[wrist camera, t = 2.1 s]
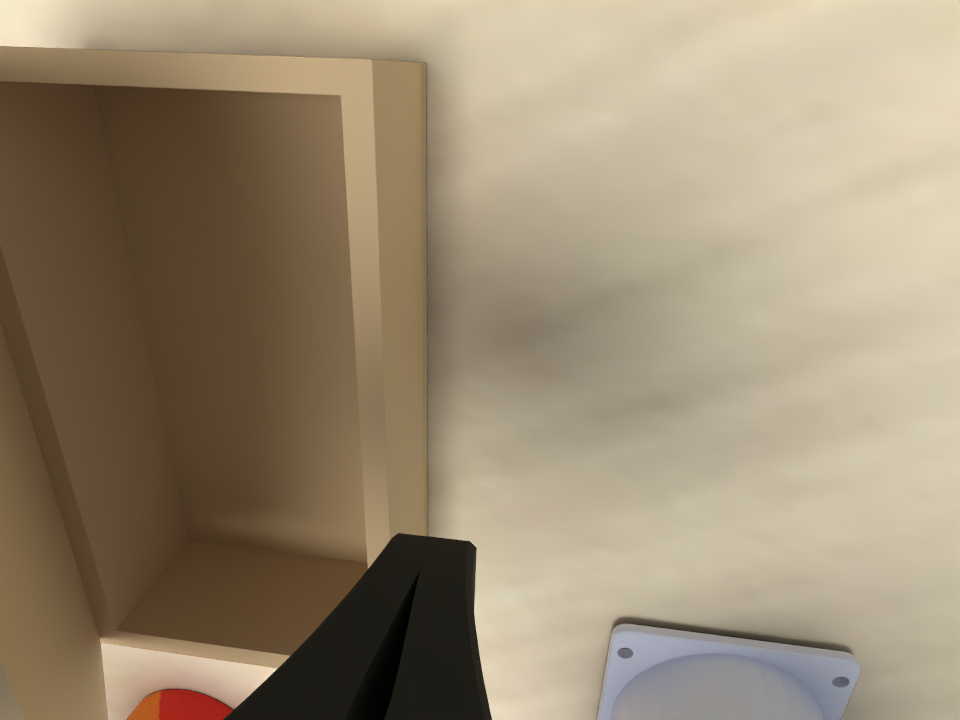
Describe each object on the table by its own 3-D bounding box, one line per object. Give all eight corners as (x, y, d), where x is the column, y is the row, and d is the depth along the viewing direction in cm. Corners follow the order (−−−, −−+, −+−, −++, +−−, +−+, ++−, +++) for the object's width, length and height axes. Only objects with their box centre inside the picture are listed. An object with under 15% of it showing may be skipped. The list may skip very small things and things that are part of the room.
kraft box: (428, 570, 22) (394, 685, 18) (185, 540, 23) (101, 642, 19) (426, 63, 15) (372, 59, 11) (80, 50, 16) (-89, 42, 12)
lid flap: (133, 978, 12) (102, 997, 11) (99, 637, 18) (80, 644, 18) (-255, 56, 5) (-347, 53, 5) (-85, 55, 12) (-119, 54, 12)
